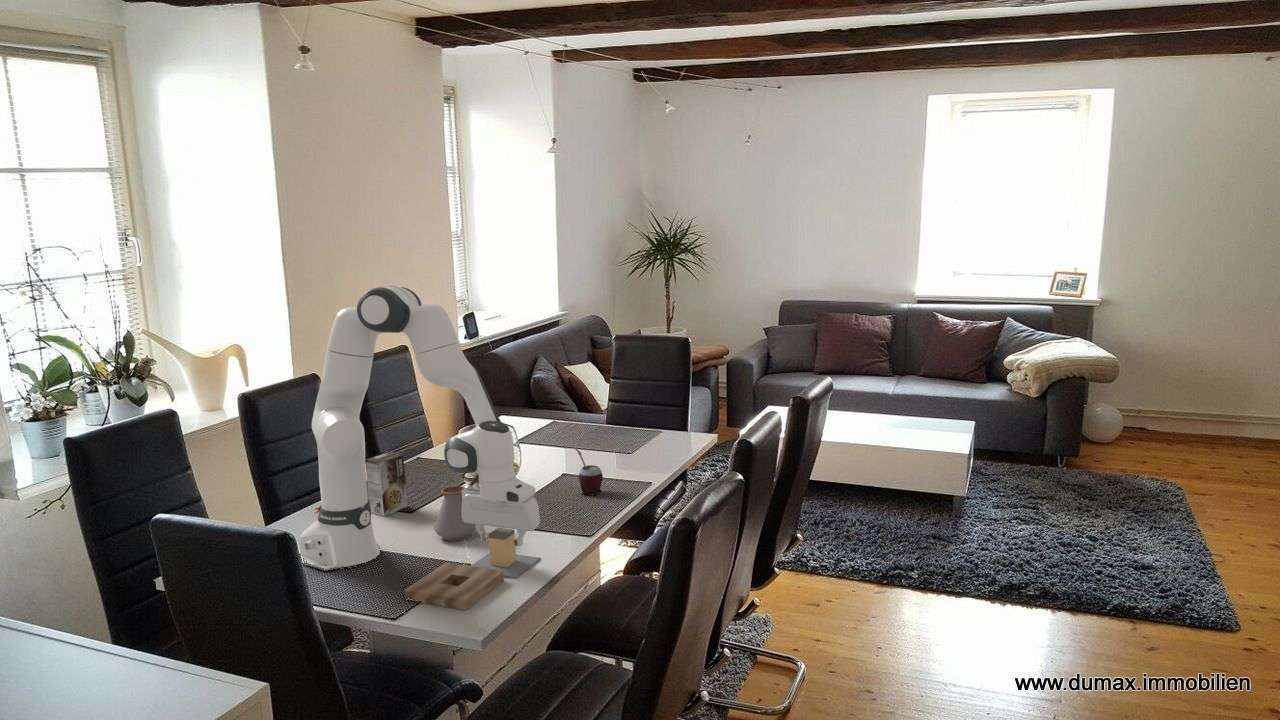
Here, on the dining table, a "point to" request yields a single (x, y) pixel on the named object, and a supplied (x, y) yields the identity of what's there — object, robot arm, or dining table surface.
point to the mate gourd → (589, 477)
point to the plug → (502, 547)
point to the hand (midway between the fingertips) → (501, 543)
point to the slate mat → (513, 569)
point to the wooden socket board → (443, 593)
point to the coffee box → (386, 483)
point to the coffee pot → (453, 515)
